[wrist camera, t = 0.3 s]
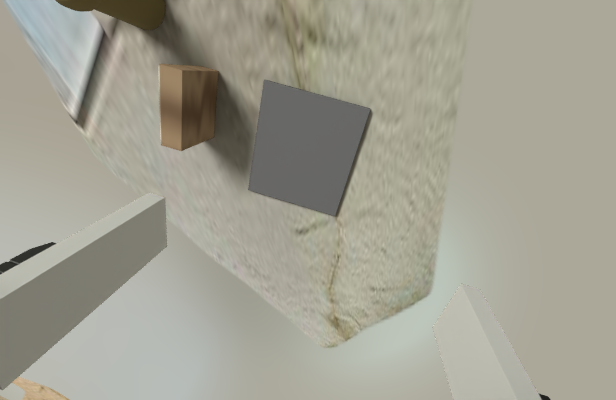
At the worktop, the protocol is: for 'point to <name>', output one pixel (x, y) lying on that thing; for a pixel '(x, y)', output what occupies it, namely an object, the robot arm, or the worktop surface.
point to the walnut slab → (186, 105)
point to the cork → (124, 10)
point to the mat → (305, 146)
